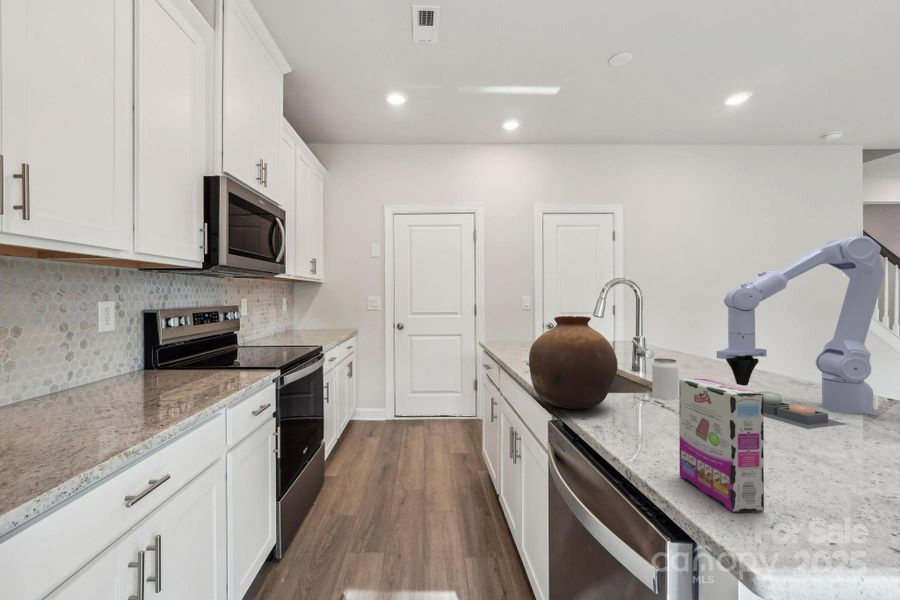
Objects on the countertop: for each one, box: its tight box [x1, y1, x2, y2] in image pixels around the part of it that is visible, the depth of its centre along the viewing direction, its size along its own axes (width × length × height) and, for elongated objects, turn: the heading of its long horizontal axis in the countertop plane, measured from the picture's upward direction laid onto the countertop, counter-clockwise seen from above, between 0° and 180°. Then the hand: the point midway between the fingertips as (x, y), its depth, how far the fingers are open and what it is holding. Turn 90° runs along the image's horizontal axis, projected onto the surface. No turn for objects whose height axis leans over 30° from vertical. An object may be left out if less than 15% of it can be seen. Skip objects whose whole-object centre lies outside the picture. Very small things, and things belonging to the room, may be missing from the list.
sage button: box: [757, 391, 783, 406], centre depth 94 cm, size 4×4×2 cm
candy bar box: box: [678, 378, 765, 513], centre depth 58 cm, size 11×5×16 cm, turn 5°
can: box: [651, 357, 680, 405], centre depth 108 cm, size 6×6×12 cm
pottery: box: [528, 315, 619, 410], centre depth 104 cm, size 23×23×25 cm
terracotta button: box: [789, 403, 816, 415], centre depth 87 cm, size 4×4×2 cm
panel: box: [763, 402, 847, 430], centre depth 94 cm, size 12×24×4 cm, turn 14°
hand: (742, 384), depth 101 cm, fingers closed
